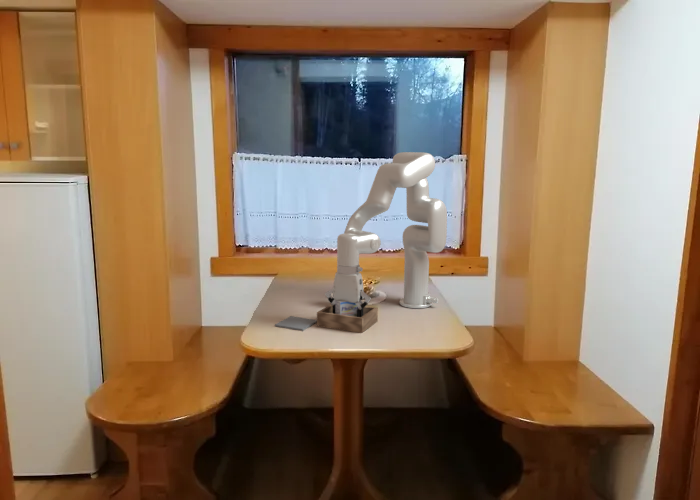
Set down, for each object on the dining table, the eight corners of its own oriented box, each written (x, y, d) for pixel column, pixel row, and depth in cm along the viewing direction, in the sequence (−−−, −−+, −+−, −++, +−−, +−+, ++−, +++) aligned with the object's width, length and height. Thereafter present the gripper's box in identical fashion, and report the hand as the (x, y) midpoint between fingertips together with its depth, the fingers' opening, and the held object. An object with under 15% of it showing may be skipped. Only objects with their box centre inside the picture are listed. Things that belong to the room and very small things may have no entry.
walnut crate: (377, 321, 198) (377, 307, 197) (362, 333, 185) (362, 318, 184) (334, 315, 205) (334, 302, 204) (316, 326, 192) (316, 312, 191)
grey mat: (317, 321, 197) (317, 320, 197) (302, 330, 187) (302, 329, 187) (290, 317, 202) (290, 316, 201) (274, 326, 192) (274, 324, 192)
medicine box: (339, 326, 192) (339, 302, 190) (334, 323, 196) (334, 299, 194) (360, 324, 195) (360, 300, 193) (355, 320, 199) (355, 297, 197)
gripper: (375, 269, 191) (374, 318, 195) (330, 265, 198) (330, 311, 202) (367, 274, 185) (366, 324, 188) (320, 269, 192) (320, 317, 195)
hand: (347, 317), depth 195 cm, fingers closed on medicine box, 8 cm apart
